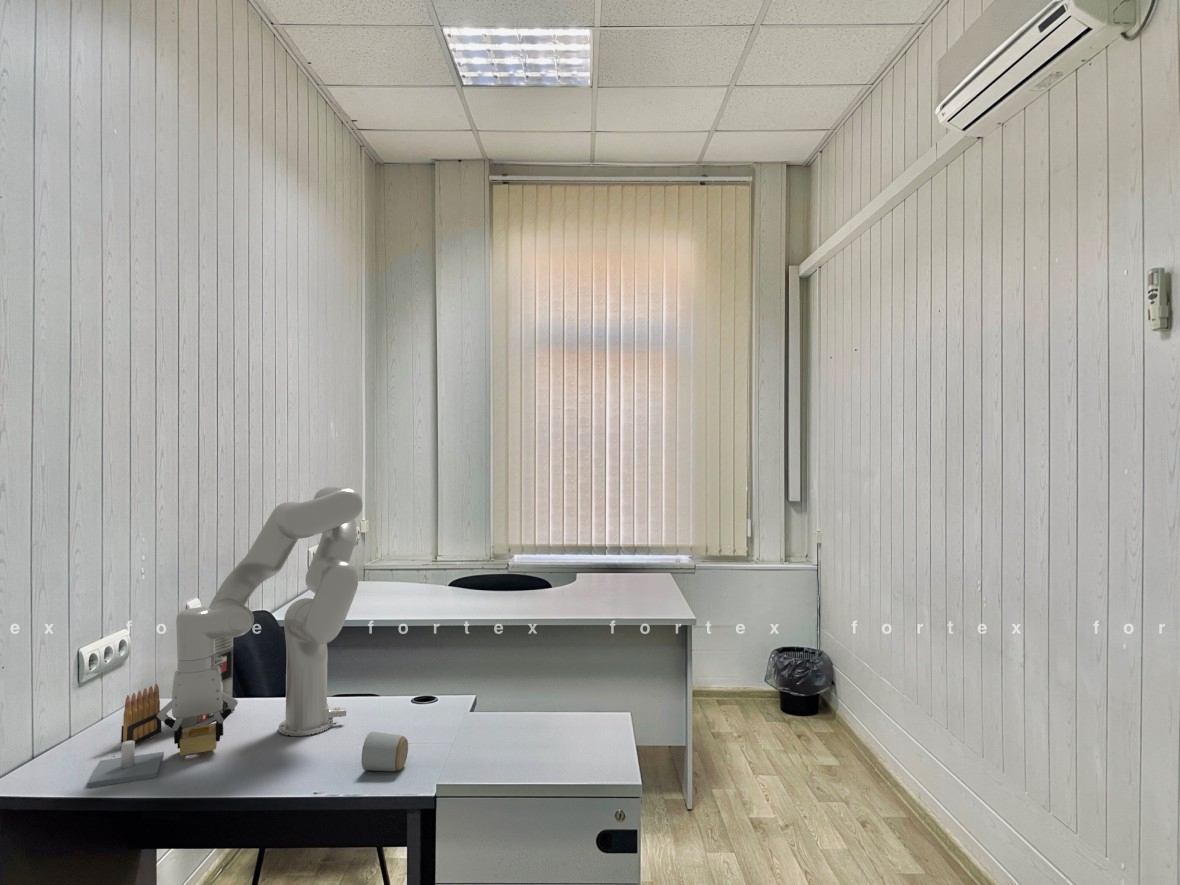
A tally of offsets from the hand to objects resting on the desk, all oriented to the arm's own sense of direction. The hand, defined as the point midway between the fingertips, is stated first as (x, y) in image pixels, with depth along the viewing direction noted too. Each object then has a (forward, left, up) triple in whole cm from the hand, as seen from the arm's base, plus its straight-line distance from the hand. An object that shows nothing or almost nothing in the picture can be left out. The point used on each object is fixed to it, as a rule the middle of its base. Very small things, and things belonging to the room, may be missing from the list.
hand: (199, 742), depth 164 cm
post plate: (+13, +4, -3) cm, 14 cm away
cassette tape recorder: (0, -24, -3) cm, 24 cm away
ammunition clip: (+13, -15, -3) cm, 20 cm away
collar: (0, 0, -1) cm, 1 cm away
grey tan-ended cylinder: (-38, +24, -3) cm, 45 cm away
